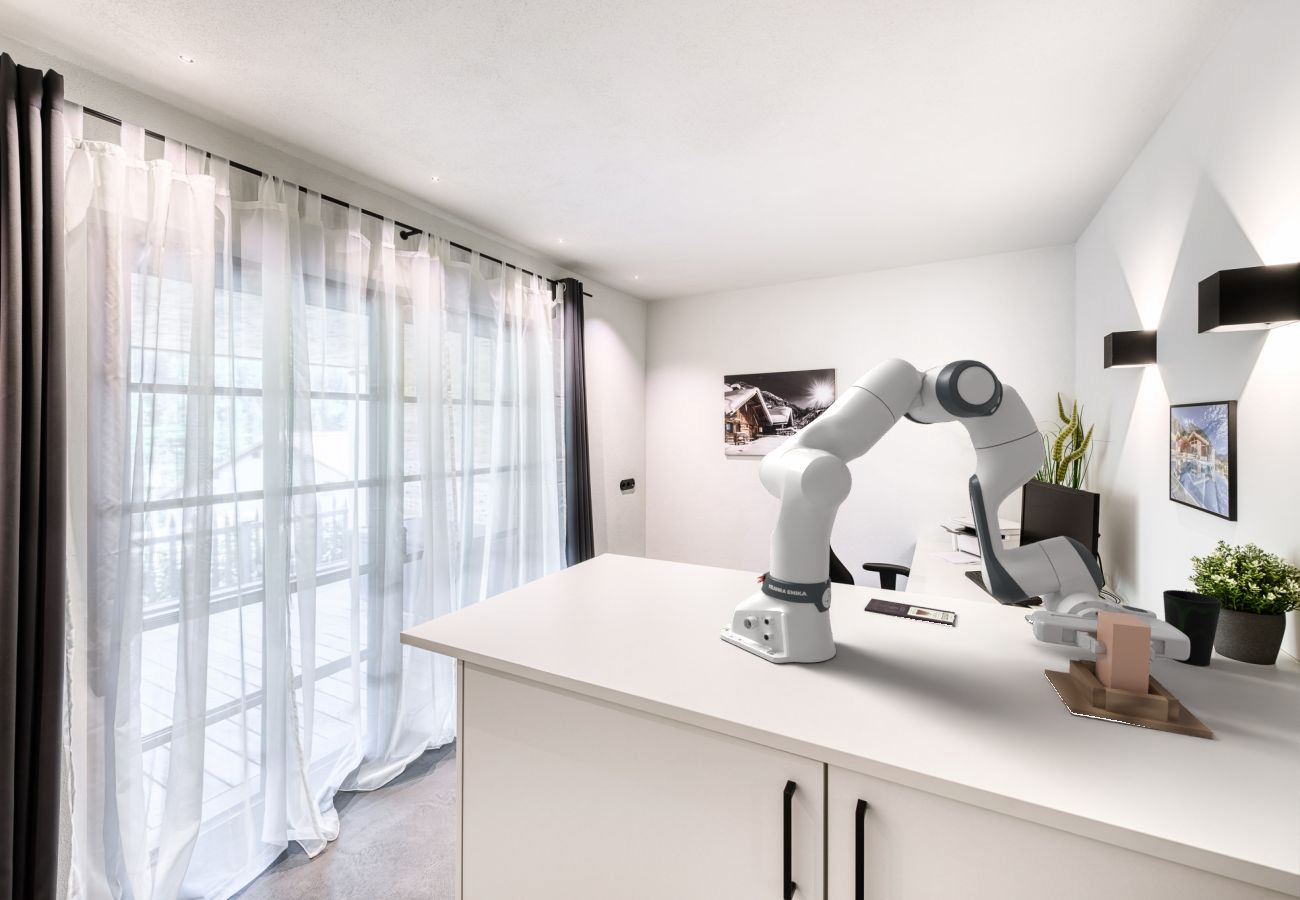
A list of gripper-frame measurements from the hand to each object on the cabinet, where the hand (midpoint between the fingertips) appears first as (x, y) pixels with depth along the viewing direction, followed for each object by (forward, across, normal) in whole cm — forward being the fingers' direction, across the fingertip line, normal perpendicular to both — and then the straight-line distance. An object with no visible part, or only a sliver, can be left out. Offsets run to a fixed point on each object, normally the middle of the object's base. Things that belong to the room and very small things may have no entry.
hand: (1124, 652), depth 83 cm
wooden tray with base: (-1, 0, +8) cm, 9 cm away
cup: (-26, +19, +9) cm, 33 cm away
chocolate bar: (-33, -28, +9) cm, 44 cm away
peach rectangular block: (-1, 0, +6) cm, 6 cm away
